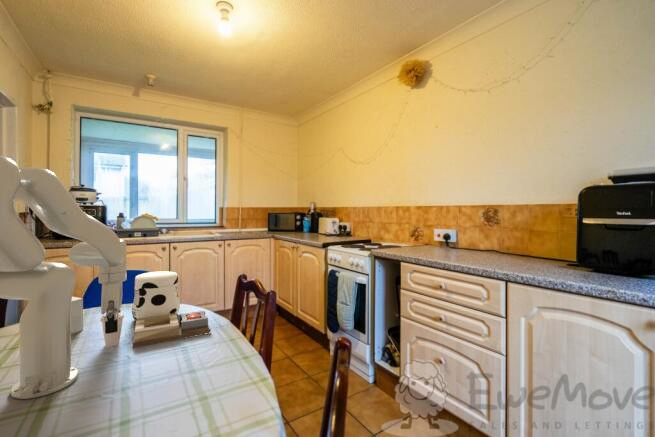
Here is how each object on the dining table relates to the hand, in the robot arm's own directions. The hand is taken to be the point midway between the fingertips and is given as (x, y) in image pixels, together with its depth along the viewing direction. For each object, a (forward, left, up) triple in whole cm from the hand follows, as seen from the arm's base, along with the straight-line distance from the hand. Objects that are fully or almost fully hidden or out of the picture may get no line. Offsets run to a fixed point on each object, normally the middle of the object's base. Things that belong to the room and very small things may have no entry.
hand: (113, 326), depth 98 cm
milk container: (+20, -13, -6) cm, 24 cm away
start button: (+1, -25, -4) cm, 25 cm away
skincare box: (+19, +14, -6) cm, 24 cm away
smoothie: (0, 0, -6) cm, 6 cm away
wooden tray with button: (+1, -18, -6) cm, 19 cm away
